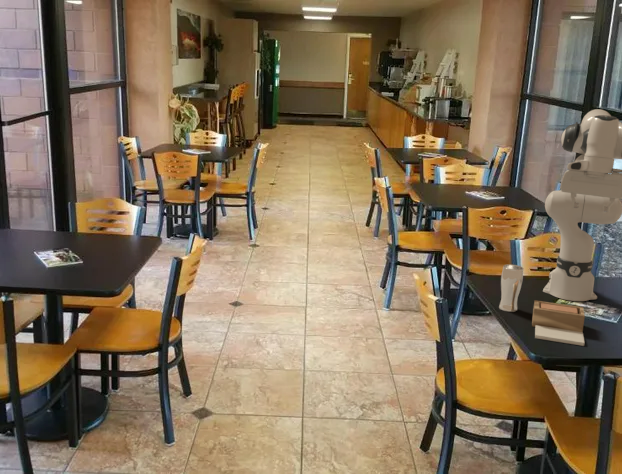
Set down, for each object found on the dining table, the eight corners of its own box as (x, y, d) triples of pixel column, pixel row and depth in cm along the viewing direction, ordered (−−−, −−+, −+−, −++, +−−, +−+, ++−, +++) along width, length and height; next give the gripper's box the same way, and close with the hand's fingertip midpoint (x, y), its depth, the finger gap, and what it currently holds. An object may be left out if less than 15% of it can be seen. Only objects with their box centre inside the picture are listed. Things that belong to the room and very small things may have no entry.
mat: (535, 328, 208) (535, 325, 208) (582, 335, 204) (582, 332, 204) (535, 338, 200) (535, 335, 200) (584, 345, 196) (584, 342, 195)
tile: (539, 310, 214) (540, 303, 214) (575, 316, 211) (576, 308, 211) (539, 315, 210) (540, 307, 209) (576, 321, 207) (577, 313, 206)
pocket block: (532, 317, 218) (534, 300, 216) (580, 324, 213) (582, 307, 212) (531, 326, 209) (534, 308, 208) (581, 334, 205) (584, 316, 203)
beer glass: (500, 303, 229) (505, 263, 226) (520, 308, 226) (526, 266, 222) (495, 309, 223) (500, 267, 220) (515, 313, 220) (521, 271, 217)
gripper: (635, 170, 204) (627, 214, 206) (567, 163, 215) (560, 205, 217) (632, 170, 199) (624, 215, 201) (562, 163, 210) (556, 205, 212)
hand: (590, 210), depth 209 cm, fingers open, 8 cm apart
